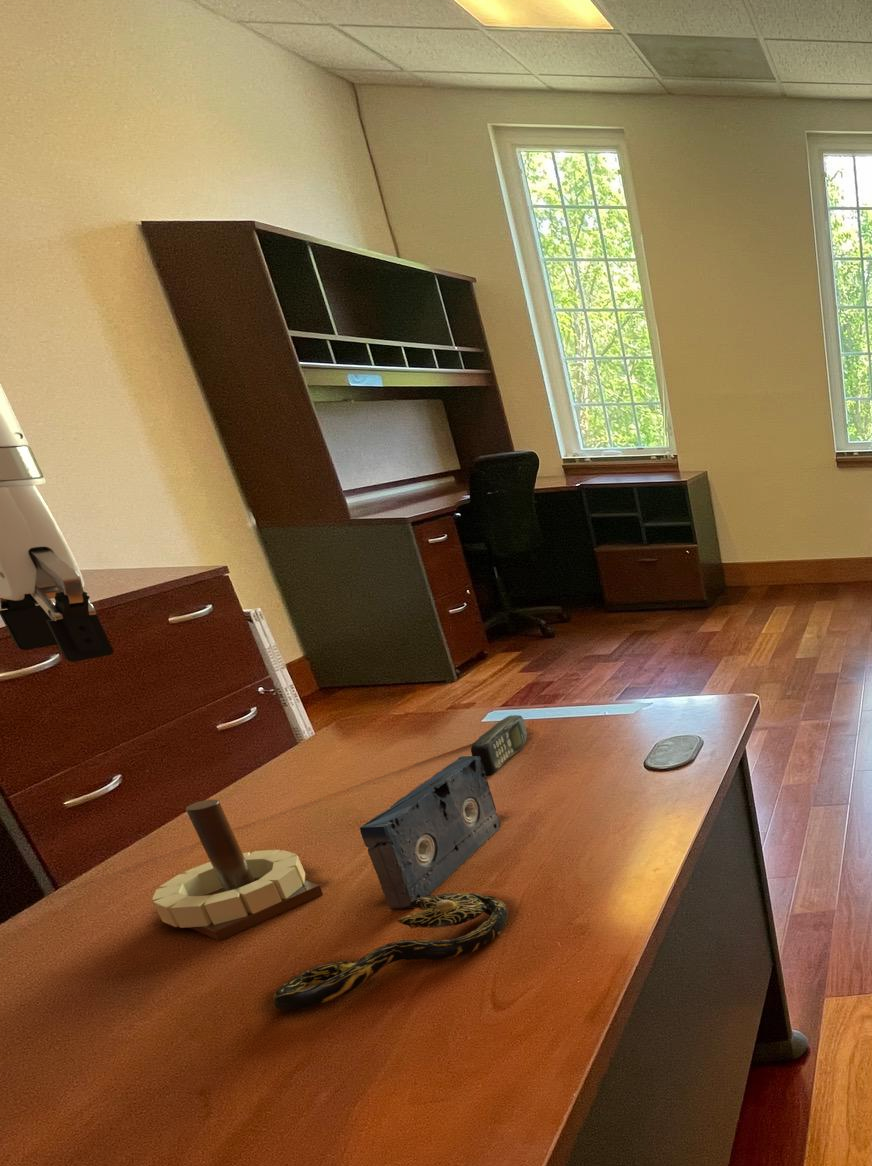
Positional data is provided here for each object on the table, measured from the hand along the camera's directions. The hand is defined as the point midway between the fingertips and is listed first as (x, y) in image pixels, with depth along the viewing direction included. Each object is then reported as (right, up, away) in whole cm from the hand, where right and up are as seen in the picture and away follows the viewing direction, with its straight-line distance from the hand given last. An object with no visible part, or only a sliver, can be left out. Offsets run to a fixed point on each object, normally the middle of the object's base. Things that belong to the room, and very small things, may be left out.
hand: (66, 652), depth 78 cm
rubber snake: (+35, -30, -2) cm, 46 cm away
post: (+13, -26, +6) cm, 30 cm away
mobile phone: (+16, -11, +42) cm, 46 cm away
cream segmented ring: (+12, -25, +5) cm, 28 cm away
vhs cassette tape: (+28, -23, +14) cm, 39 cm away
